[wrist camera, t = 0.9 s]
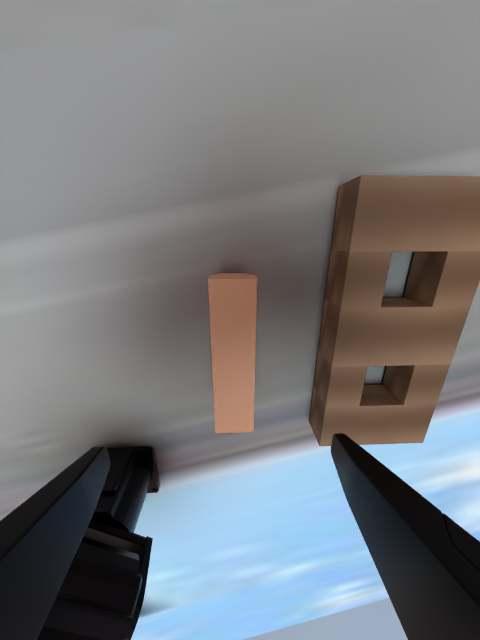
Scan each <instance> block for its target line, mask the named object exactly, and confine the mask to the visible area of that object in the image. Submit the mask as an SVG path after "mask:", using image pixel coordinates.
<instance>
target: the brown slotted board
mask: <svg viewBox="0 0 480 640" xmlns="http://www.w3.org/2000/svg"><path fill="white" fill-rule="evenodd" d="M392 251H415V252H414V256H413V260H412V264H411V268H410V273H409V277H408V281H407V285H406V289H405V293H404V297H403V298H383V293H384V288H385V284H386V279H387V274H388V269H389V265H390V260H391V255H392ZM479 281H480V177H466V176H372V175H361V176H359V177H357V178H355V179H353V180H351V181H349V182H347V183H345V184H343V185H341V186H339V191H338V199H337V207H336V215H335V223H334V231H333V238H332V246H331V254H330V262H329V270H328V278H327V286H326V293H325V301H324V309H323V317H322V325H321V333H320V341H319V348H318V356H317V364H316V372H315V380H314V388H313V396H312V404H311V411H310V419H309V423H310V425H311V427H312V430H313V432H314V434H315V437H316V439H317V441H318V443H319V446H331V444H332V437H333V434H335V433H344V434H346V435H347V436H348V437H349V438H351V439H352V440H353V441H354V442H356V443H357V444H358V445H368V444H397V443H423V441H424V438H425V435H426V432H427V429H428V427H429V424H430V421H431V418H432V415H433V412H434V409H435V407H436V404H437V401H438V398H439V395H440V392H441V389H442V387H443V384H444V381H445V378H446V375H447V372H448V369H449V367H450V364H451V361H452V358H453V355H454V352H455V349H456V347H457V344H458V341H459V338H460V335H461V332H462V330H463V327H464V324H465V321H466V318H467V315H468V312H469V310H470V307H471V304H472V301H473V298H474V295H475V292H476V290H477V287H478V284H479ZM368 366H386V371H385V375H384V379H383V383H382V385H364V382H365V377H366V372H367V368H368Z"/></svg>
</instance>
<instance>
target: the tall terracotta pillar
mask: <svg viewBox="0 0 480 640" xmlns="http://www.w3.org/2000/svg"><path fill="white" fill-rule="evenodd" d="M208 290H209V311H210V332H211V353H212V375H213V396H214V417H215V433H237V432H254V392H255V352H256V312H257V278H256V276H255V275H254V274H247V273H218V274H217V275H210V277H209V278H208Z"/></svg>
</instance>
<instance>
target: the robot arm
mask: <svg viewBox="0 0 480 640" xmlns="http://www.w3.org/2000/svg"><path fill="white" fill-rule="evenodd" d="M331 454H332V458H333V461H334V464H335V467H336V469H337V472H338V475H339V478H340V481H341V484H342V487H343V490H344V493H345V496H346V499H347V501H348V504H349V506H350V508H351V511H352V513H353V515H354V517H355V520H356V522H357V524H358V526H359V529H360V531H361V533H362V536H363V538H364V540H365V542H366V545H367V547H368V549H369V552H370V554H371V556H372V558H373V561H374V563H375V565H376V568H377V570H378V572H379V574H380V577H381V579H382V581H383V583H384V586H385V588H386V590H387V593H388V595H389V597H390V599H391V602H392V604H393V606H394V609H395V611H396V613H397V615H398V618H399V620H400V622H401V625H402V627H403V629H404V631H405V634H406V636H407V638H408V640H480V542H479V541H478V540H477V539H476V538H474V537H473V536H472V535H471V534H469V533H468V532H467V531H465V530H464V529H463V528H462V527H460V526H459V525H458V524H456V523H455V522H454V521H453V520H452V519H450V518H449V517H448V516H447V515H445V514H442V512H441V511H440V510H439V509H438V508H436V507H435V506H434V505H433V504H431V503H430V502H429V501H428V500H427V499H425V498H424V497H423V496H422V495H420V494H419V493H418V492H417V491H415V490H414V489H413V488H412V487H410V486H409V485H408V484H407V483H405V482H404V481H403V480H402V479H400V478H399V477H398V476H397V475H395V474H394V473H393V472H392V471H390V470H389V469H388V468H387V467H385V466H384V465H383V464H382V463H381V462H379V461H378V460H377V459H376V458H374V457H373V456H372V455H371V454H369V453H368V452H367V451H366V450H364V449H363V448H362V447H361V446H359V445H358V444H357V443H356V442H354V441H353V440H352V439H351V438H349V437H348V436H347V435H346V434H344V433H335V434H333V437H332V444H331ZM159 487H160V485H159V479H158V473H157V467H156V461H155V455H154V450H153V448H151V447H134V448H106V447H105V446H95V447H93V448H91V449H90V450H89V451H88V452H86V453H85V454H84V455H83V456H81V457H80V458H79V459H78V460H76V461H75V462H74V463H73V464H71V465H70V466H69V467H67V468H66V469H65V470H64V471H62V472H61V473H60V474H59V475H57V476H56V477H55V478H54V479H52V480H51V481H50V482H49V483H47V484H46V485H45V486H44V487H42V488H41V489H40V490H39V491H37V492H36V493H35V494H34V495H32V496H31V497H30V498H29V499H27V500H26V501H25V502H24V503H22V504H21V505H20V506H19V507H17V508H16V509H15V510H14V511H12V512H11V513H10V514H8V515H7V516H6V517H5V518H3V519H2V520H1V521H0V640H131V637H132V635H133V632H134V630H135V627H136V624H137V621H138V618H139V614H140V611H141V607H142V603H143V599H144V594H145V587H146V580H147V574H148V567H149V560H150V553H151V546H152V539H153V538H150V537H148V536H147V537H143V536H140V535H138V534H135V533H134V530H135V527H136V524H137V521H138V518H139V515H140V512H141V509H142V506H143V503H144V500H145V497H146V494H147V493H155V492H158V491H159Z"/></svg>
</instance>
